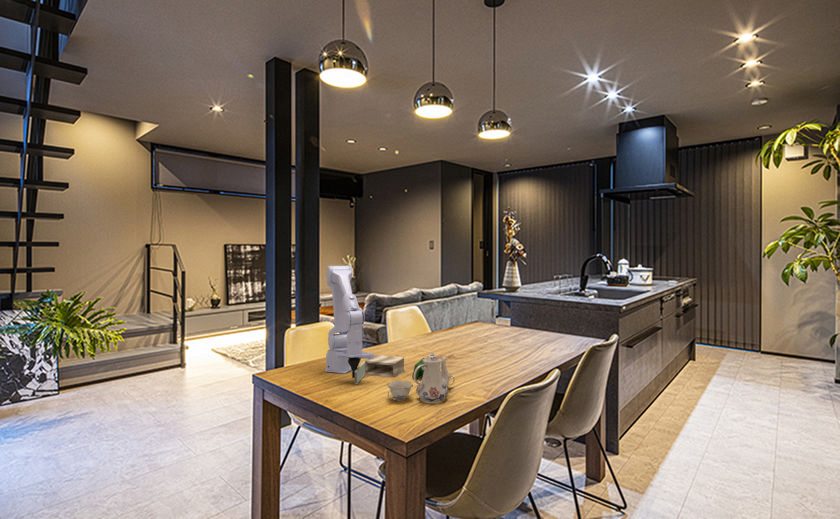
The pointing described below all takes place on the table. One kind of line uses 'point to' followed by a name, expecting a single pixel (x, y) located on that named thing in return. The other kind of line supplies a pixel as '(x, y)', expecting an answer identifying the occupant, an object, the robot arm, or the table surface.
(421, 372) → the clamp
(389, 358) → the cabinet
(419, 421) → the table surface
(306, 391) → the table surface
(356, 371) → the door
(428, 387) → the chinaware
